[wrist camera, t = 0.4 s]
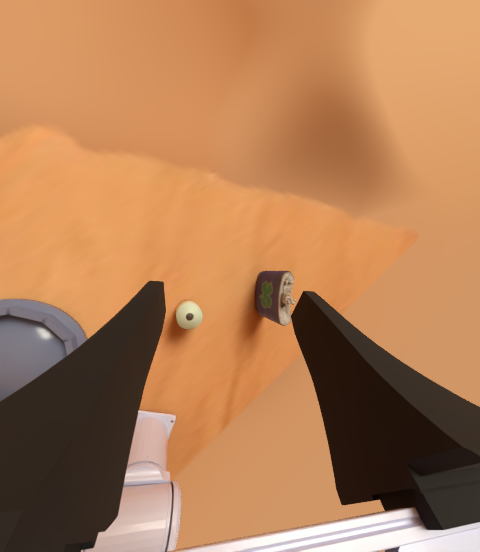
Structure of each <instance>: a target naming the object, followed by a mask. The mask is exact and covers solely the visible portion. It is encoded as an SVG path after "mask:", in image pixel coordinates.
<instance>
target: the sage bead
mask: <svg viewBox="0 0 480 552" xmlns="http://www.w3.org/2000/svg"><path fill="white" fill-rule="evenodd" d="M202 316H203V315H202V311H201V309H200V308H199V307H198V305H197V304H196V303H195V302H194V301H192V300H184V301H181V302H180V303H179V304H178V305H177V307H176V319H177V323H178V324H179V326H180V327H182V328H184V329H193V328H196V327H197V326H198V325H199V324H200V323H201V321H202Z"/></svg>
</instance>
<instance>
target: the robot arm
mask: <svg viewBox="0 0 480 552" xmlns="http://www.w3.org/2000/svg"><path fill="white" fill-rule="evenodd" d="M165 313H166V307H165V295H164V283H163V282H160V281H149V282H147V284H146V285H145V286H144V287H143V288H142V289H141V290H140V291H139V292H138V293H137V294H136V295H135V296H134V297H133V298H132V299H131V301H130V302H129V303H128V304H127V305H125V306H124V307H123V308H122V309H121V310H120V311H119V312H118V313H117V314H116V315H115V316H114V317H113V318H112V319H111V320H110V321H109V322H107V323H106V324H105V325H104V326H103V327H102V328H101V329H100V330H98V331H97V332H96V333H95V334H94V335H93V336H91V337H90V338H89V339H88V340H87V341H85V342H84V343H83V344H82V345H80V346H79V347H78V348H76V349H75V350H74V351H73V352H71V353H70V354H69V355H67V356H66V357H65V358H63V359H62V360H60V361H59V362H58V363H56V364H55V365H54V366H52V367H51V368H49V369H48V370H47V371H45V372H44V373H42V374H41V375H40V376H38V377H37V378H35V379H34V380H32V381H31V382H29V383H28V384H26V385H25V386H23V387H22V388H20V389H19V390H17V391H16V392H14V393H13V394H11V395H9V396H8V397H6V398H5V399H3V400H2V401H0V552H378V551H383V550H385V552H480V407H478V406H476V405H475V404H472V403H470V402H469V401H467V400H465V399H463V398H461V397H459V396H458V395H456V394H454V393H452V392H451V391H449V390H447V389H445V388H444V387H442V386H440V385H438V384H436V383H435V382H433V381H431V380H430V379H428V378H427V377H425V376H423V375H422V374H420V373H418V372H417V371H415V370H414V369H412V368H410V367H409V366H407V365H406V364H404V363H403V362H401V361H400V360H398V359H397V358H395V357H394V356H392V355H391V354H390V353H388V352H387V351H385V350H384V349H383V348H381V347H380V346H378V345H377V344H376V343H374V342H373V341H372V340H371V339H369V338H368V337H367V336H366V335H364V334H363V333H362V332H361V331H359V330H358V329H357V328H356V327H354V326H353V325H352V324H351V323H350V322H348V321H347V320H346V319H345V318H344V317H343V316H342V315H340V314H339V313H338V312H337V311H336V310H335V309H334V308H332V307H331V306H330V305H329V304H328V303H327V302H326V301H325V300H323V299H322V298H321V297H320V296H319V295H317V294H316V293H315V292H311V291H303V293H302V295H301V297H300V299H299V301H298V303H297V305H296V307H295V309H294V311H293V313H292V315H291V319H292V323H293V328H294V332H295V335H296V338H297V340H298V343H299V346H300V348H301V351H302V354H303V356H304V358H305V361H306V364H307V366H308V369H309V372H310V374H311V377H312V380H313V383H314V386H315V391H316V394H317V398H318V401H319V405H320V409H321V413H322V417H323V421H324V426H325V431H326V435H327V440H328V444H329V449H330V454H331V460H332V466H333V471H334V477H335V483H336V490H337V492H338V496H339V498H340V501H341V504H342V505H348V504H355V503H361V502H367V501H374V500H379V499H380V501H381V503H382V505H383V507H384V510H385V511H383V512H377V513H372V514H366V515H361V516H356V517H350V518H345V519H339V520H334V521H329V522H324V523H318V524H312V525H307V526H301V527H296V528H291V529H285V530H280V531H274V532H269V533H263V534H258V535H253V536H247V537H242V538H237V539H231V540H226V541H220V542H215V543H210V544H204V545H198V546H193V547H188V548H182V549H177V550H175V548H176V544H177V539H178V533H179V525H180V514H181V491H180V488H179V486H178V483H177V481H171V482H170V472H167V471H166V462H167V441H168V438H169V436H170V433H171V430H172V428H173V425H174V422H175V420H176V416H175V415H172V414H164V413H157V412H149V411H141V410H139V408H140V403H141V399H142V394H143V390H144V386H145V382H146V379H147V376H148V373H149V369H150V366H151V363H152V360H153V357H154V354H155V351H156V348H157V345H158V342H159V339H160V336H161V332H162V328H163V324H164V319H165ZM171 420H173V421H172V422H171Z"/></svg>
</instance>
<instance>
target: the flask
mask: <svg viewBox="0 0 480 552" xmlns="http://www.w3.org/2000/svg"><path fill="white" fill-rule="evenodd" d="M293 283H294V277H293V275H292V273H291V272H290V271H263V272H260V273H259V274H258V277H257V282H256V288H255V289H256V290H255V293H256V294H255V299H256V300H255V301H256V311H257V313H258V314H259V315H261V316H263V317H266V318H268V319H270V320H272V321H274V322H276V323H278V324H280V325H283V326H285V325H287V324H288V323H290V320H291V315H290V304H291V303H292V305H294V304H295V302H296V299H295V300H294V301H292V299H293V298H292V297H291V289H292V285H293Z"/></svg>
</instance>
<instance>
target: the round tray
mask: <svg viewBox="0 0 480 552" xmlns="http://www.w3.org/2000/svg"><path fill="white" fill-rule="evenodd" d="M87 340H88V339H87V337H86V335H85V333H84V331H83V329H82V328H81V326H80V325H79V324H78V323H77V322H76V321H75V319H73V318H72V317H71V316H70V315H69V314H67V313H66V312H64V311H62V310H61V309H59V308H57V307H54V306H52V305H49V304H46V303H43V302H39V301H34V300H27V299H4V300H0V401H2V400H3V399H5V398H6V397H8V396H9V395H11V394H13V393H14V392H16V391H17V390H19V389H20V388H22V387H23V386H25V385H26V384H28V383H29V382H31V381H32V380H34V379H35V378H37V377H38V376H40V375H41V374H42V373H44V372H45V371H47V370H48V369H49V368H51V367H52V366H54V365H55V364H56V363H58V362H59V361H60V360H62V359H63V358H65V357H66V356H67V355H69V354H70V353H71V352H73V351H74V350H75V349H76V348H78V347H79V346H80V345H82V344H83V343H84V342H85V341H87Z"/></svg>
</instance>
